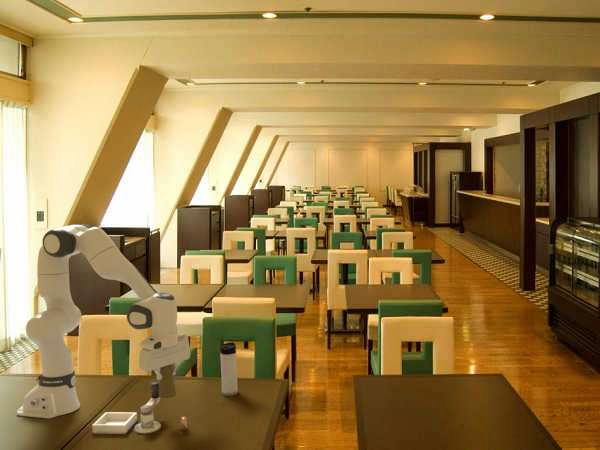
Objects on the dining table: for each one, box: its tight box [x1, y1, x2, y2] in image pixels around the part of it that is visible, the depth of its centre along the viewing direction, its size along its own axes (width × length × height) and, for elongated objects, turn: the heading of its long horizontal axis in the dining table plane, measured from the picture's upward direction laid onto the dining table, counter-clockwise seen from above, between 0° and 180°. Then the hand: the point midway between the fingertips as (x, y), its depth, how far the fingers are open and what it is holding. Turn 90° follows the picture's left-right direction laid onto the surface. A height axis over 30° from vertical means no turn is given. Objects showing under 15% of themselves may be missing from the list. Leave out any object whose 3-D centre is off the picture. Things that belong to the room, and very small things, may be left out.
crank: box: [140, 381, 161, 415], centre depth 226 cm, size 14×4×7 cm, turn 174°
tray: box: [91, 411, 138, 435], centre depth 224 cm, size 12×12×3 cm
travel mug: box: [219, 341, 239, 397], centre depth 254 cm, size 6×7×20 cm
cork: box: [159, 365, 177, 399], centre depth 226 cm, size 6×6×11 cm
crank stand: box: [133, 411, 188, 435], centre depth 221 cm, size 18×9×5 cm, turn 84°
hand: (166, 377), depth 226 cm, fingers closed on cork, 4 cm apart
